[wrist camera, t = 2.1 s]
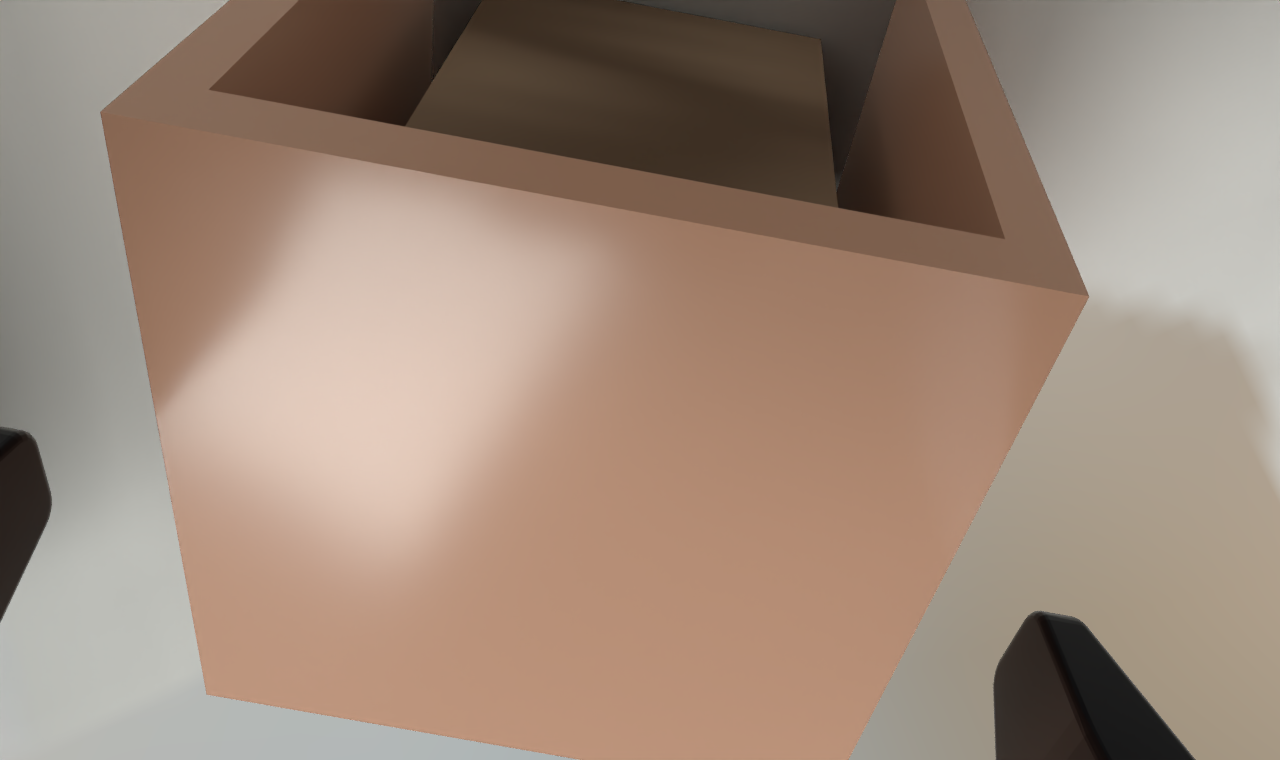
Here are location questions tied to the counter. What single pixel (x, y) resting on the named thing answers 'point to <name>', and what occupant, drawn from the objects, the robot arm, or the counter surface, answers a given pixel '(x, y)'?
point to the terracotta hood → (571, 392)
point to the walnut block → (641, 93)
